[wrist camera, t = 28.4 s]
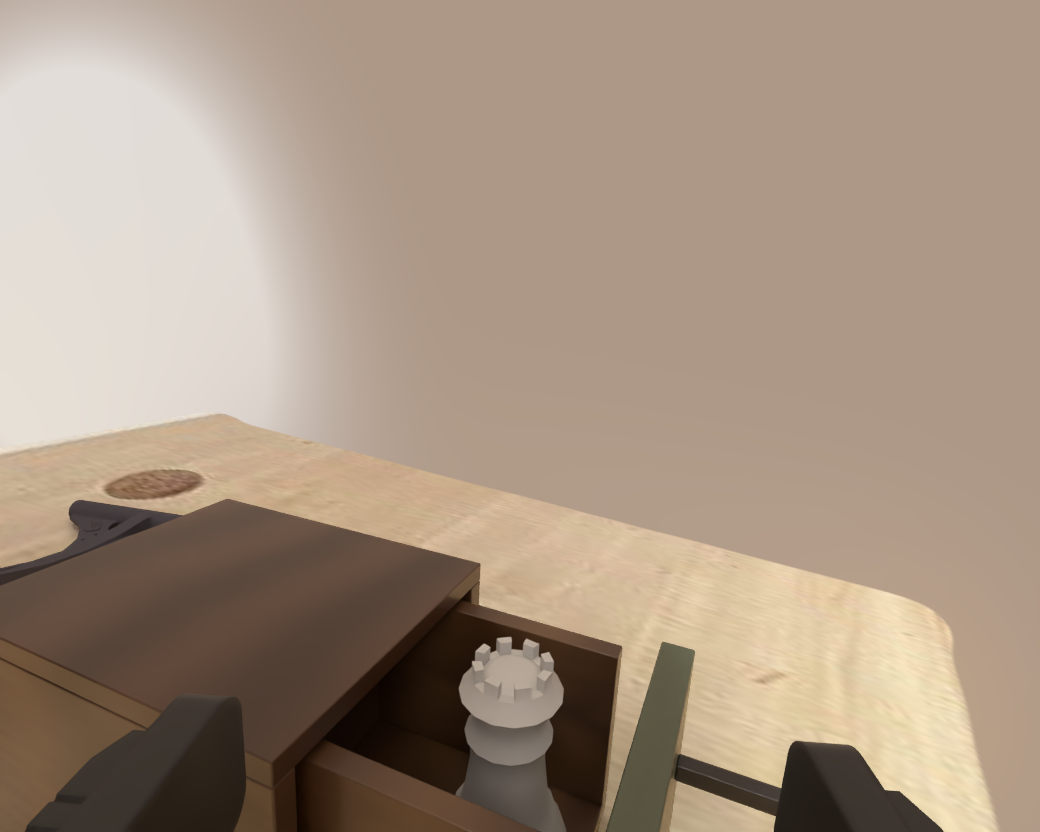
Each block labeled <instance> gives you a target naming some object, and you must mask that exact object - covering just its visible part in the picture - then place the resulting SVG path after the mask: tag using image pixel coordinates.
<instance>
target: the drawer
mask: <svg viewBox="0 0 1040 832" xmlns="http://www.w3.org/2000/svg"><path fill="white" fill-rule="evenodd" d="M504 637H511V639H512V646H511V649H515V650H522V651H523V643H524V642H525V640H526V639H528V640H531V641H533V642H536V643H538V644H539V657H540V658H541V654H543V653H547V652H549V653H550V655H551V657H552V659H553V661H554V667H553V671H554V672H555V673H556V674H557V676H558V678H559V680H560V682H561V684H562V686H563V688H564V692H563V703H562V705H561V706H560V707H559V709H558V710H557V711H556V713H555V714H554V715H553V716H552V717H551V718H550V719H549V720H550V722H551V725H552V727H553V738H552V744H551V745H550V746H549V748H548V749H547V751H546V752H545V763H546V775H547V787H548V788H549V789H550V791H551V793H552V796H553V799H554V801H555V802H556V803H557V805H558V808H559V810H560V813H561V816H562V819H563V821H564V824H565V828H566V832H597V831H598V827H599V824H600V821H601V818H602V815H603V811H604V808H605V801H606V791H607V784H608V775H609V765H610V756H611V747H612V738H613V729H614V720H615V711H616V701H617V692H618V683H619V674H620V665H621V656H622V646H619V645H616V644H612V643H609V642H605V641H602V640H598V639H595V638H591V637H588V636H584V635H581V634H577V633H574V632H570V631H567V630H563V629H560V628H556V627H553V626H549V625H546V624H542V623H539V622H535V621H532V620H528V619H525V618H521V617H518V616H514V615H511V614H507V613H504V612H500V611H497V610H493V609H490V608H486V607H483V606H479V605H476V604H472V603H469V602H465V601H462V600H459V601H458V602H457V603H456V604H455V605H454V606H453V607H452V608H451V609H450V610H449V611H448V612H447V613H446V614H445V615H444V616H443V617H442V618H441V619H440V620H439V621H438V622H437V623H436V624H435V625H434V626H433V627H432V628H431V629H430V630H429V631H428V632H427V633H426V635H425V636H424V637H423V638H422V639H421V640H420V641H419V642H418V643H417V644H416V645H415V646H414V647H413V648H412V649H411V650H410V651H409V652H408V653H407V654H406V655H405V656H404V657H403V658H402V659H401V660H400V661H399V662H398V663H397V664H396V665H395V666H394V667H393V668H392V669H391V670H390V671H389V672H388V673H387V674H386V675H385V676H384V677H383V678H382V679H381V680H380V681H379V682H378V683H377V684H376V685H375V686H374V687H373V688H372V689H371V690H370V691H369V692H368V693H367V694H366V695H365V696H364V697H363V698H362V699H361V700H360V701H359V702H358V703H357V704H356V705H355V706H354V707H353V708H352V709H351V710H350V711H349V712H348V713H347V714H346V715H345V716H344V717H343V718H342V719H341V720H340V721H339V722H338V723H337V724H336V725H335V726H334V727H333V728H332V729H331V730H330V731H329V732H328V733H327V734H326V735H325V736H324V737H323V738H322V739H321V740H320V741H319V742H318V743H317V744H316V745H315V746H314V747H313V748H312V749H311V750H310V751H309V752H308V753H307V754H306V755H305V756H304V757H303V758H302V759H301V760H300V761H299V762H298V763H297V764H296V765H295V766H294V768H295V782H296V806H297V830H298V832H541V831H538V830H536V829H534V828H531V827H529V826H527V825H524V824H522V823H519V822H517V821H515V820H512V819H510V818H508V817H505V816H503V815H501V814H498V813H496V812H494V811H491V810H489V809H486V808H484V807H482V806H479V805H477V804H475V803H472V802H470V801H468V800H465V799H463V798H461V797H458V796H456V792H457V790H458V789H459V788H460V787H461V785H462V784H463V783H464V782H465V778H466V773H467V768H468V763H469V758H470V746H469V744H468V743H467V739H466V735H465V730H464V729H465V726H466V723H467V719H468V717H469V716H470V715H471V713H470V711H469V710H468V709H467V708H466V707H465V706H464V705H463V704H462V701H461V697H460V692H459V686H460V683H461V680H462V677H463V675H464V674H465V673H466V672H467V671H468V670H469V669H470V668H471V667H472V661H475V651H476V650H477V649H478V648H480V647H481V646H482V645H483V644H486V645H488V646H489V647H491V649H490V653H492V652H494V651H496V642H497V638H504ZM694 655H695V651H694V650H692V649H688V648H684V647H681V646H677V645H673V644H670V643H666V642H662V643H661V647H660V650H659V653H658V657H657V660H656V664H655V667H654V670H653V674H652V677H651V681H650V684H649V687H648V691H647V694H646V697H645V701H644V704H643V708H642V711H641V714H640V718H639V721H638V725H637V728H636V731H635V735H634V738H633V742H632V745H631V748H630V752H629V755H628V758H627V762H626V765H625V769H624V772H623V775H622V779H621V782H620V786H619V789H618V792H617V796H616V799H615V802H614V806H613V809H612V813H611V816H610V819H609V823H608V826H607V830H606V832H669V829H670V824H671V817H672V810H673V803H674V796H675V789H676V782H677V781H679V782H681V783H684V784H687V785H690V786H693V787H695V788H698V789H701V790H704V791H707V792H709V793H712V794H715V795H718V796H721V797H723V798H726V799H729V800H732V801H735V802H737V803H740V804H743V805H746V806H748V807H751V808H754V809H757V810H760V811H762V812H765V813H768V814H771V815H774V816H776V814H777V809H778V804H779V798H780V793H781V788H778V787H775V786H772V785H769V784H767V783H764V782H761V781H758V780H755V779H752V778H749V777H746V776H743V775H740V774H737V773H734V772H731V771H728V770H725V769H723V768H720V767H717V766H714V765H711V764H708V763H705V762H702V761H699V760H696V759H693V758H690V757H687V756H684V755H682V754H680V753H681V746H682V739H683V732H684V725H685V718H686V711H687V704H688V697H689V690H690V683H691V676H692V669H693V662H694Z"/></svg>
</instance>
